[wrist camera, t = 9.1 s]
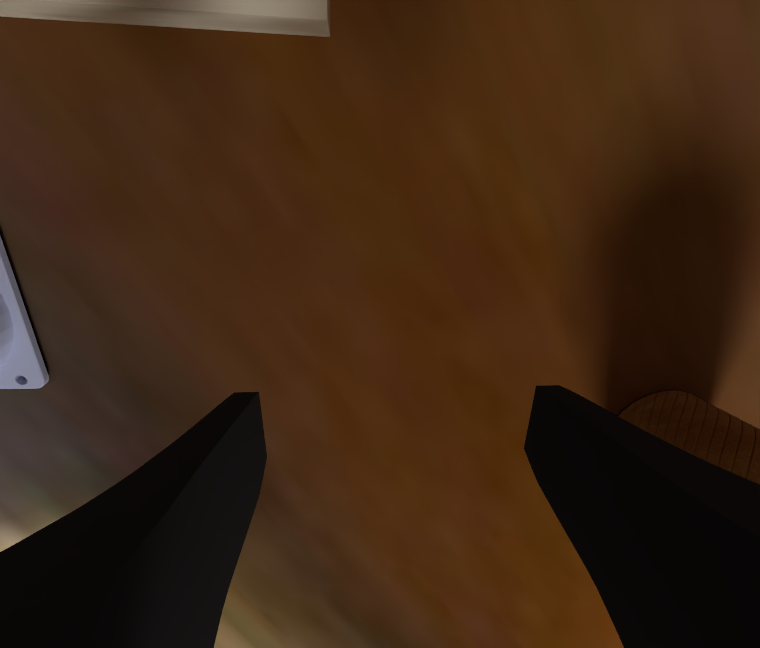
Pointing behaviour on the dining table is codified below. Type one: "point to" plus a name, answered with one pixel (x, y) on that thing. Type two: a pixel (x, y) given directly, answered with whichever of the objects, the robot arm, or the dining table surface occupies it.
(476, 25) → the dining table surface
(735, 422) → the disposable coffee cup
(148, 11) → the slab
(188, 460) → the robot arm
